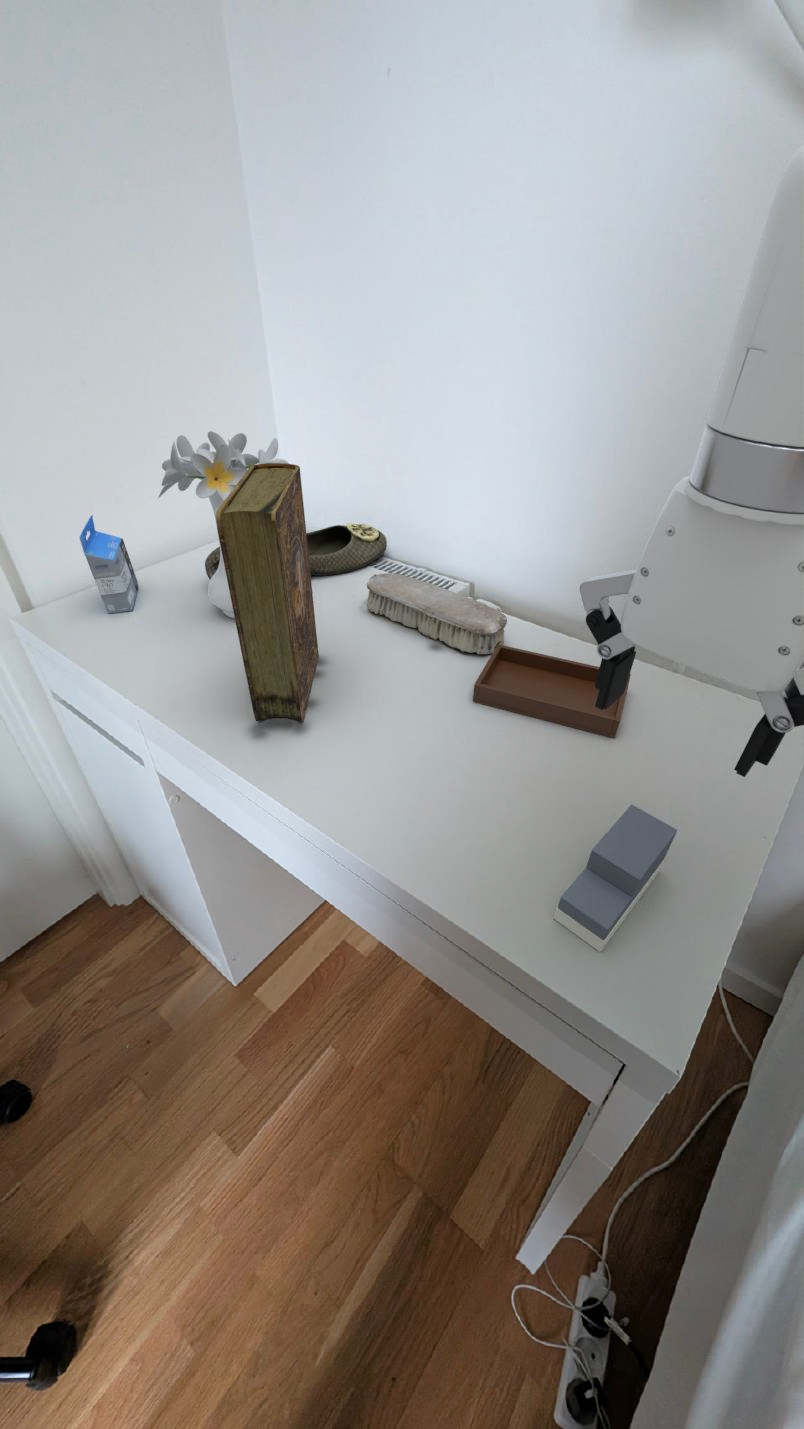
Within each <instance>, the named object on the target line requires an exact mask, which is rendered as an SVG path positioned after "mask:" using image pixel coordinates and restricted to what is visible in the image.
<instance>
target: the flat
mask: <svg viewBox="0 0 804 1429" xmlns="http://www.w3.org/2000/svg"><path fill="white" fill-rule="evenodd" d="M306 535H307V544H308V554H309V564H310V574H311V576H327V575H329V576H331V575H337V574H340V573H347V572H353V571H355V570H357V569H359V568H362V567H365V566H367V565H368V564H371V563H373V562H374V561H376V560H377V559H378V558H379V557H381V556H383V554H384V553H385V552H386V550H387V547H388V540H387V537H386V536H385V534H384V533H383V532H382V531H380V530H379V529H376V528H375V527H374V526H371V525H369V524H365V523H351V522H347V523H346V525H344V524H343V525H342V524H336V525H331V526H327V527H325V528H321V529H317V530H313V531H309V532H306ZM219 561H220V545H219V546H218V547H216V548H215V549H213V550H212V551H211V552H210V553H209V554H208V555H207V557H206V559H205V562H204V569H205V573H206V576H207V577H208V579H209V580H210V579H211V577H212V576H213V575H214V573H215V572H216V571H217V569H218V566H219Z"/></svg>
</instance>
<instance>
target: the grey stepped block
mask: <svg viewBox="0 0 804 1429" xmlns="http://www.w3.org/2000/svg"><path fill="white" fill-rule="evenodd" d="M677 833H678V829H677V828H675V827H673V826H672V825H669V824H667V823H666V822H664V821H662V820H661V819H659V818H657V817H655V816H654V815H652V814H650V813H648V812H646V811H645V810H643V809H641V808H639V807H637V806H636V805H633V804H630V805H629V807H628V808H627V809H626V810H625V811H624V812H623V814H622V815H621V816H620V817H619V818H618V819H617V820H616V822H615V823H614V824H613V825H612V826H611V827H610V828H609V829H608V831H606V833H605V834H604V836H603V837H601V839H600V840H599V841H598V842H597V843H596V845H595V846H594V847H593V848H592V849H591V852H590V854H589V858H588V860H587V864H586V867H585V868H584V869H583V870H582V872H581V873H580V874H579V875H578V876H577V877H576V878H575V880H574V881H573V882H572V883H571V884H570V886H569V887H568V888H567V889H566V890H565V891H564V893H563V894H562V895H561V896H560V898H559V901H558V905H557V906H556V908H555V911H554V914H553V919H554V920H555V921H556V922H558V923H559V924H560V925H562V926H563V927H565V928H566V929H567V930H568V931H570V932H571V933H573V934H574V935H575V936H577V937H578V938H580V939H581V940H582V941H584V942H585V943H587V945H589V946H591V947H592V948H593V949H595V950H596V951H598V952H599V953H601V952H602V951H603V950H604V948H605V947H606V945H607V944H608V943H609V941H610V940H611V939H612V937H613V936H614V934H616V932H617V930H618V929H619V927H620V926H621V924H622V923H623V922H624V921H625V919H626V918H627V917H628V915H630V912H631V911H632V910H633V908H634V907H635V906H636V904H637V903H638V902H639V900H640V899H641V897H642V896H643V895H644V893H645V892H646V891H647V889H648V888H649V886H650V885H651V884H652V882H653V881H654V880H655V879H656V877H657V876H658V874H659V873H660V872H661V870H662V868H663V866H664V863H665V861H666V859H665V858H666V856H667V854H668V852H669V850H670V847H671V845H672V843H673V841H674V839H675V837H676V835H677Z"/></svg>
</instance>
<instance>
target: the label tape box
mask: <svg viewBox="0 0 804 1429" xmlns="http://www.w3.org/2000/svg"><path fill="white" fill-rule="evenodd" d="M94 522H95V521H94V516H93V515H92V514H91V515H90V516H89V518H88V519H87V521H86V523H85V524H84V526H83V528H82V530H81V532H80V534H79V541H80V544H81V547H82V552H83V554H84V557H85V558H86V562H87V564H88V566H89V569H90V572H91V575H92V577H93V579H94V582H95V584H96V588H97V589H98V593H99V595H100V598H101V599H102V602H103V604H104V607H105V610H106V612H107V614H116V613H117V614H118V613H124V612H125V613H126V612H130V611H131V612H132V611H133V610H134V607H135V602H136V598H137V594H138V590H139V581H138V579H137V576H136V573H135V570H134V567H133V565H132V562H131V559H130V556H129V553H128V550H127V547H126V545H125V544H126V543H125V540H124V539H123V538H121V537H119V536H115V535H113V534H108V533H106V532H105V533H104V532H101V531H97V530H96V527H95V523H94ZM88 533H89V535H88ZM87 536H88V537H87Z"/></svg>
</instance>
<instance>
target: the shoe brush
mask: <svg viewBox="0 0 804 1429" xmlns="http://www.w3.org/2000/svg"><path fill="white" fill-rule="evenodd" d="M366 587H367V590H368V594H367V595H368V596H367V600H366V608H367V609H368V610H369V611H370V613H372V612H374V614H376V615H381V616H382V615H383V616H385V617H386V618H389V619H390V620H391V621H392V622H398V623H401V624H402V625H403V626H404V627H405V626H406V627H408V628H412V629H417V628H418V631H419V632H420V633H421V634H423V635H424V636H426V637H430V638H431V639H433V640H434V641H436V640H437V639H439V641H440V642H444V643H445V644H446V645H447V646H450V647H451V648H455V649H458V650H460V651H461V652H462V653H464V652H467V653H469V654H470V653H476V654H477V655H489V654H490V655H492V654H493V652H494V650H495V649H496V647H497V645H498V644H499V645H504V641H505V628H506V626H507V623H508V619H507V616H506V615H505V614H504V613H503V612H502V611H499V610H497V609H495V608H493V607H491V606H488V605H486V603H484V602H481V601H478V600H474V599H472V598H470V597H468V596H466V595H463V594H461V593H457V592H455V591H453V590H450V589H447V588H445V587H442V586H439V585H436V584H433V583H431V582H428V581H424V580H421V579H417V578H414V577H411V576H407V575H404V574H400V573H395V572H384V573H380V574H373V575H372V576H371V577H370V578H369V579H368V581H367V582H366Z"/></svg>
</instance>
